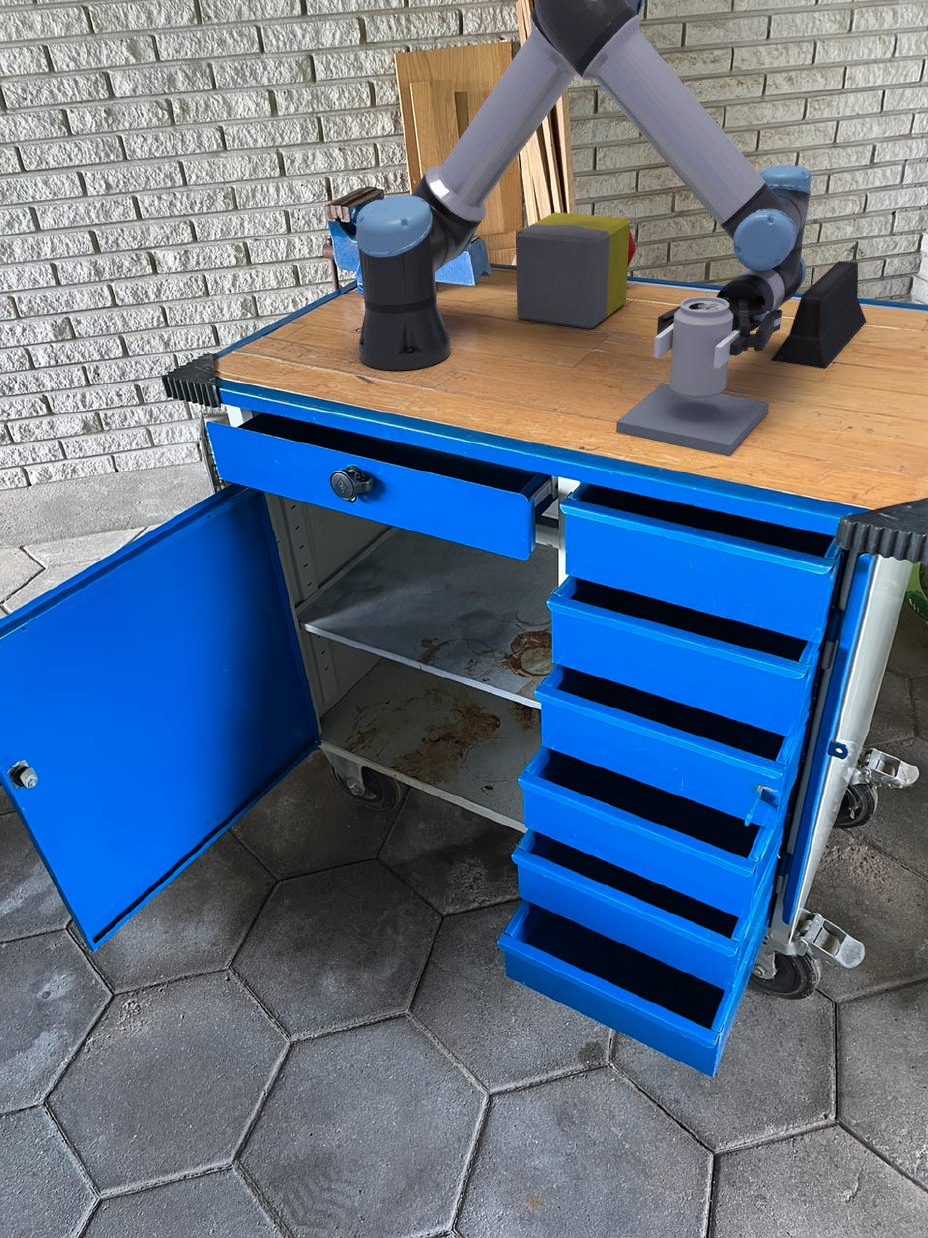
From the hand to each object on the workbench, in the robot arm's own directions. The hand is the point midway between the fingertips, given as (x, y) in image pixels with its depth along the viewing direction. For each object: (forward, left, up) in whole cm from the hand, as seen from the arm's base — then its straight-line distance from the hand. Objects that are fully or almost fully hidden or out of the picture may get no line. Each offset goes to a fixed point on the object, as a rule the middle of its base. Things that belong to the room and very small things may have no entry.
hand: (686, 352), depth 123 cm
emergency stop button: (-37, +44, -12) cm, 59 cm away
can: (0, +5, -7) cm, 9 cm away
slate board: (0, +5, -11) cm, 12 cm away
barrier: (+6, +43, -12) cm, 45 cm away
